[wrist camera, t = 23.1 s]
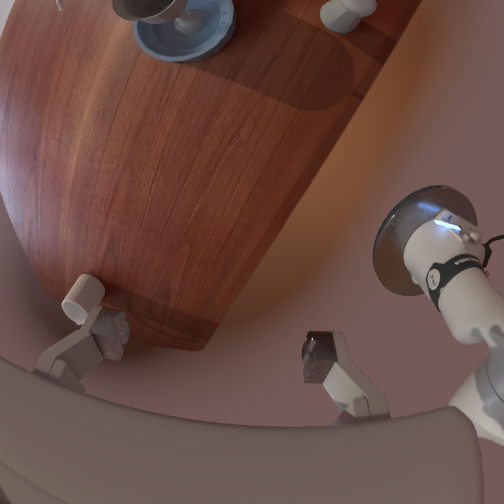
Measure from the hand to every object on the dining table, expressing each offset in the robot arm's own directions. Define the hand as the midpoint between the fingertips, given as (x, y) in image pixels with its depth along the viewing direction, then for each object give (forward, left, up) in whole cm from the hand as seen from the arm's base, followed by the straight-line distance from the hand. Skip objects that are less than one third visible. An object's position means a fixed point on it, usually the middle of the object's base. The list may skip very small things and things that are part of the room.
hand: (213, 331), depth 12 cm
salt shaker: (-11, -23, -37) cm, 45 cm away
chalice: (+11, -20, -37) cm, 43 cm away
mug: (+38, +38, -37) cm, 65 cm away
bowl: (+11, -20, -37) cm, 44 cm away
